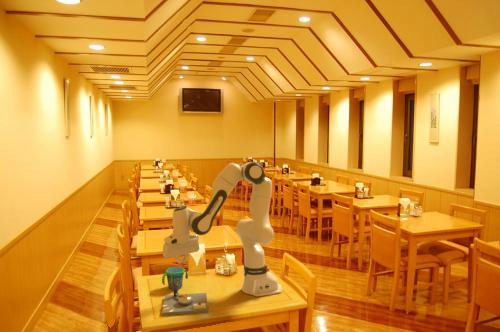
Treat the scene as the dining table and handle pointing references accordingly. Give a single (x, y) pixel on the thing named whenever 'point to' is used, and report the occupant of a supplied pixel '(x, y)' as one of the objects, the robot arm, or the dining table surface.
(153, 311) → the dining table surface
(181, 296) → the ladle
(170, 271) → the snack cup
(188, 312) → the board
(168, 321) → the dining table surface
